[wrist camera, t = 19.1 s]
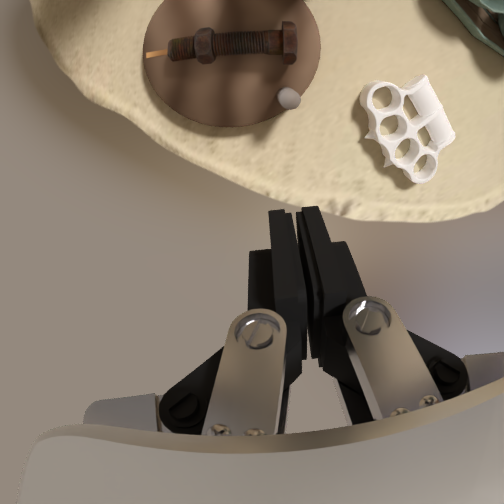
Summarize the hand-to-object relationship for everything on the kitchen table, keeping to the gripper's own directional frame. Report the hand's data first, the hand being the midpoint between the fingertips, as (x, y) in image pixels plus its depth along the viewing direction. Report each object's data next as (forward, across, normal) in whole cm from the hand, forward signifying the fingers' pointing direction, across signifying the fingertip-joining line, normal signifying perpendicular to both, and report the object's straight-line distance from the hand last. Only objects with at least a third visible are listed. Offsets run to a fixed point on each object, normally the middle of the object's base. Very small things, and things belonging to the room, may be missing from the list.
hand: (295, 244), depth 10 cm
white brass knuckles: (+34, -21, +4) cm, 40 cm away
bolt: (+31, +3, -9) cm, 32 cm away
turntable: (+33, +3, -9) cm, 34 cm away
